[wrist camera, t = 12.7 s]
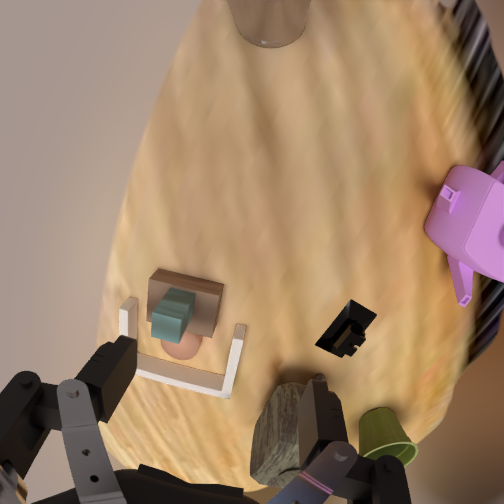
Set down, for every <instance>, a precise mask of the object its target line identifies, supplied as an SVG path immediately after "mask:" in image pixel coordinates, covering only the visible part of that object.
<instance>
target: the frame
mask: <svg viewBox="0 0 504 504" xmlns="http://www.w3.org/2000/svg"><path fill="white" fill-rule="evenodd" d="M137 318H138V299H135V298H132V297H129V298H128V299H127V300H126V301H125V303H124V304H123V305H122V306H121V307H120V308H119V333H120V335H124V336H128V337H131V338H134V339H136V340H137ZM245 329H246V326H245V325H240V324H236V328H235V332H234V336H233V341H232V345H231V350H230V355H229V360H228V364H227V369H226V374H225V376H224V375H220V374H215V373H211V372H207V371H203V370H199V369H195V368H191V367H187V366H183V365H179V364H175V363H172V362H168V361H165V360H161V359H158V358H154V357H151V356H147V355H144V354H141V353H138V352H137V369H136V373H135V374H136V375H140V376H143V377H146V378H149V379H152V380H156V381H159V382H163V383H166V384H170V385H173V386H177V387H180V388H184V389H188V390H192V391H196V392H200V393H204V394H208V395H213V396H217V397H221V398H226V399H230V395H231V391H232V387H233V382H234V378H235V374H236V370H237V366H238V362H239V357H240V353H241V349H242V345H243V340H244V335H245Z"/></svg>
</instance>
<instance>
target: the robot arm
mask: <svg viewBox="0 0 504 504" xmlns="http://www.w3.org/2000/svg"><path fill="white" fill-rule="evenodd" d="M310 2H311V0H228V3H229V6H230V9H231V11H232V14H233V17H234V20H235V23H236V26H237V29H238V30H239V32H240V34H241V35H242V36H243V37H244V38H245V39H246V40H247V41H249V42H250V43H252V44H255V45H257V46H261V47H267V48H275V47H281V46H285V45H288V44H290V43H292V42H293V41H295V40H296V39H297V38H298V37H299V36H300V35H301V34H302V32H303V30H304V27H305V23H306V19H307V15H308V11H309V6H310ZM136 369H137V340H136V339H134V338H131V337H128V336H124V335H120V336H119V337H118V339H117V340H116V341H115V343H112V342H107V343H105V344H103V345H101V346H100V347H99V348H98V349H97V351H96V352H95V354H93V356H92V357H91V358H90V360H89V361H88V362H87V363H86V365H85V366H84V367H83V368H82V370H81V371H80V372H79V373H78V375H77V376H76V377H75V378H74V379H68V380H65V381H63V382H61V383H60V384H59V385H53V384H47V383H42V382H41V380H40V378H39V376H38V375H37V374H36V373H34V372H31V371H22V372H20V373H17V374H16V375H15V376H14V377H13V378H12V380H11V381H10V382H9V383H8V385H7V386H6V387H5V388H4V390H3V391H2V392H1V393H0V504H26V497H27V492H28V491H27V487H26V484H25V482H24V481H23V480H24V478H25V476H26V474H27V472H28V470H29V468H30V466H31V464H32V463H33V461H34V459H35V457H36V456H37V454H38V452H39V450H40V448H41V447H42V445H43V443H44V441H45V440H46V438H47V436H48V434H49V433H50V431H51V429H54V430H59V431H62V434H63V440H64V445H65V449H66V453H67V458H68V461H69V466H70V469H71V473H72V477H73V481H74V484H75V488H73V489H70V490H67V491H65V492H62V493H59V494H57V495H54V496H51V497H48V498H46V499H43V500H40V501H37V502H34V503H32V504H259V503H258V502H257V501H255V500H253V499H251V498H249V497H247V496H244V495H243V490H244V488H237V487H231V486H226V485H220V484H191V483H187V482H185V481H183V480H181V479H179V478H177V477H175V476H173V475H171V474H169V473H167V472H165V471H162V470H159V469H156V468H153V467H149V466H146V465H143V464H140V465H139V468H138V469H122V470H117V471H113V468H112V466H111V463H110V460H109V457H108V454H107V451H106V448H105V445H104V442H103V439H102V436H101V433H100V430H99V426H98V422H99V421H102V422H105V423H108V421H109V419H110V418H111V416H112V414H113V412H114V410H115V409H116V407H117V405H118V403H119V402H120V400H121V398H122V396H123V395H124V393H125V391H126V389H127V388H128V386H129V384H130V382H131V381H132V379H133V377H134V375H135V373H136ZM343 417H344V416H343V411H342V405H341V401H340V400H339V398H338V397H337V395H336V394H335V393H330V392H328V386H327V382H326V381H322V380H314V379H310V380H309V381H308V384H307V386H306V388H305V391H304V393H303V395H302V398H301V400H300V402H299V406H298V437H299V469H305V470H304V471H303V472H300V473H299V474H298V475H297V476H296V477H295V478H294V479H293V480H292V481H291V482H289V483H288V484H287V485H286V486H285V487H284V488H283V489H282V490H281V491H280V492H279V493H278V494H277V495H275V496H274V497H273V498H272V499H271V500H270V501H269V502H268V503H267V504H323V503H324V502H325V501H326V500H327V499H328V497H329V496H330V495H331V494H332V495H335V496H339V497H342V498H345V499H347V502H348V503H347V504H412V503H411V498H410V493H409V488H408V483H407V478H406V474H405V469H404V465H403V463H402V462H401V461H400V460H399V459H398V458H397V457H395V456H392V455H383V456H381V457H379V458H378V459H377V460H373V459H370V458H366V457H363V456H360V455H358V454H357V451H356V449H355V448H354V447H353V446H352V445H351V444H349V442H348V437H347V431H346V426H345V421H344V418H343Z"/></svg>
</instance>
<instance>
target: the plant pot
mask: <svg viewBox="0 0 504 504" xmlns="http://www.w3.org/2000/svg"><path fill="white" fill-rule="evenodd" d="M417 453H418V447H417V445H416V444H414V443H412V442H411V440H410V438H409V437H408V436H407V435H406V433H405V432H404V430H403V428H402V427H401V425H400V423H399V421H398V420H397V418H396V416H395V414H394V413H393V411H392V410H390V409H389V408H377V409H376V410H373V411H369V412H367V413H366V414H365V415H363V416H362V418H361V419H360V422H359V453H358V455H360V456H363V457H366V458H370V459H373V460H377V459H378V458H379V457H381V456H383V455H392V456H395V457H397V458H398V459H399V460H400V461H401V462H402V463H403V465H404V467H405V466H406V465H408V464H409V463H410V462H411V461H413V459H414V458H415V457H416V455H417Z"/></svg>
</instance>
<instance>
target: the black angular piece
mask: <svg viewBox="0 0 504 504" xmlns="http://www.w3.org/2000/svg"><path fill="white" fill-rule="evenodd" d="M376 316H377V314H375V313H374V312H372V311H370V310H369V309H367V308H365V307H364V306H362V305H360V304H359V303H357V302H355V301H353V300H352V299H351V300H350V301H349V302H348V303H347V305H346V306H345V307H344V309H343V310H342V311H341V312H340V314H339V315H338V316H337V318H336V319H335V320H334V321H333V323H332V324H331V325H330V326H329V328H328V329H327V330H326V331H325V333H324V334H323V335H322V336H321V337H320V339H319V340H318V341H317V342H316V344H315V345H316V346H318V347H320V348H322V349H324V350H326V351H328V352H330V353H332V354H334V355H336V356H338V357H341V358H342V357H343V356H344V355H345V354H346V355H348V356H350V357H351V356H352V355H353V354H354V353H355V352H356V351H357V348H356V347H354V346H355V345H357V346H359V347H360V346H361V345H362V344H363V343H364V341H365V340H366V338H365V335H366V334H365V330H366V329H367V327H368V326H369V325H370V324H371V322H372V321H373V320H374V319H375V317H376Z"/></svg>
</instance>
